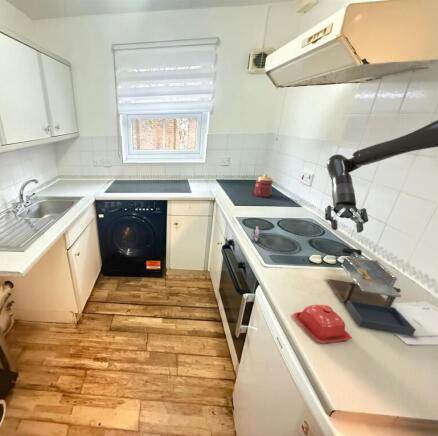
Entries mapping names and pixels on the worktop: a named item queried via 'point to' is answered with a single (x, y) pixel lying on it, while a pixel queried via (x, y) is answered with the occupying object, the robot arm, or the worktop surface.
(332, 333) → the butter dish
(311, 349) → the worktop surface
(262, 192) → the kitchen canister
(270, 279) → the worktop surface
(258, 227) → the decorative key
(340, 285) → the stand
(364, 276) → the key
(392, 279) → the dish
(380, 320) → the tray
